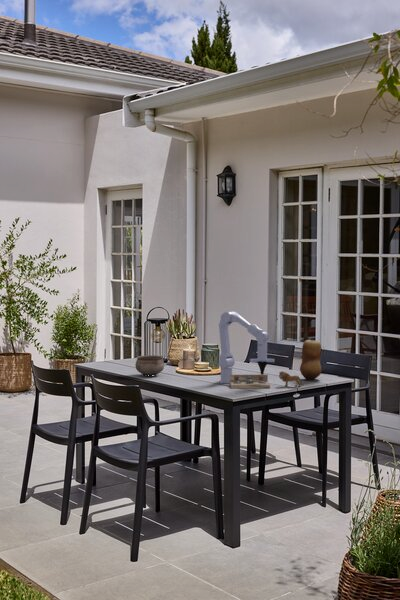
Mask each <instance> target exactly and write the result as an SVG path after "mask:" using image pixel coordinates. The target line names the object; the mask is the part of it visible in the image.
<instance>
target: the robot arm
mask: <svg viewBox="0 0 400 600" xmlns="http://www.w3.org/2000/svg"><path fill="white" fill-rule="evenodd" d="M233 323H238V324H239V325H241V326H243V327H244V328H245V329H247V332H248V333H249V334H250V335H252V336H253V337H254V338H255V340H256V341H257V358H250V359H249V363H256V364H257V365H258V367H259V370H260V371H259V372H260V375H265V374H264V372H265V370H266V369H265V368H266V367H267V365H268V363H275V358H268V340H269V339H270V338H269V337H270V335H269V333H268V331H266V330H263V328H260V327H258V326H257V324H253V323H252V324H251V323H250V322H249V321H247V320H246V319H245V318H244V317H243V316H241V315H240V314H239V313H238V312H236V311H235V310H233V311H225V312H223V313H222V314H220V320H219V323H218V329H219V341H220V342H219V343H220V351H221V353H220V354H219V356H218V358H219V360H218V366H219V367H220V380H219V383H220V384H230V375H233V366H234V365H235V359H234V357H233V354H232V352H231V346H230V345H231V344H230V338H229V337H230V336H229V326H230V325H231V324H233Z"/></svg>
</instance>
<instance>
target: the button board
mask: <svg viewBox="0 0 400 600" xmlns="http://www.w3.org/2000/svg"><path fill="white" fill-rule="evenodd" d="M268 377H269V376H268V374H232V375H230V383H229V387H230V388H231V389H271V384H270V382H269V380H268ZM247 380H253V383H252V384H247ZM236 381H238V382H240V384H234V382H236ZM260 381H264V382H265V383H259V382H260Z"/></svg>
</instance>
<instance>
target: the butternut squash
mask: <svg viewBox="0 0 400 600" xmlns="http://www.w3.org/2000/svg"><path fill="white" fill-rule="evenodd" d="M301 348H302V349H301V363H300V366H299V371H300V375H301V376H303V378H304V379H306V381H309V380H310V381H311V380H315V379H317V378H319V376H320V375H321V373H322V366H321V361H320V360H321V353H322V344H321V342H320V341H319V340H313V339H307V340H304V341H303V344H302V347H301Z"/></svg>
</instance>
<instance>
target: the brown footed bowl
mask: <svg viewBox="0 0 400 600" xmlns="http://www.w3.org/2000/svg"><path fill="white" fill-rule="evenodd" d="M163 358H164V355H163V356H162V355H154V354H153V355H152V354H149V355H147V354H146V355H138V356H136V362H135V369H136V370H137V372H138V373H140V374H142V375H143V376H145V375H147V376H146V377H153V376H152V375H155V376H157V375H159V374H160V373H162V372H163V370H164V368H165V362H164V359H163ZM148 375H149V376H148Z"/></svg>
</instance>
